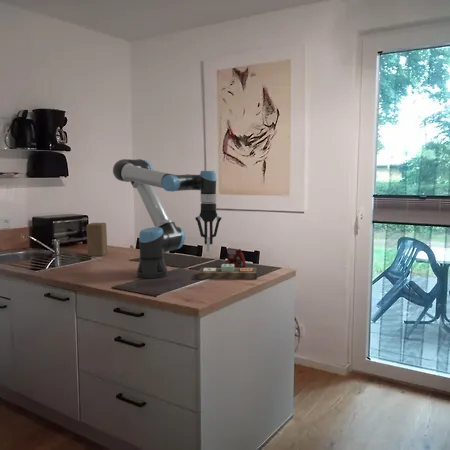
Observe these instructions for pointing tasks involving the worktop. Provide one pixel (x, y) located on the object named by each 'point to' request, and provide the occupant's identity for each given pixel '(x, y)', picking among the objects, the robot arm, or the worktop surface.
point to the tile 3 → (246, 269)
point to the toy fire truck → (235, 258)
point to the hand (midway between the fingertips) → (208, 250)
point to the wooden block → (96, 239)
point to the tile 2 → (227, 268)
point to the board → (227, 274)
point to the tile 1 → (209, 270)
